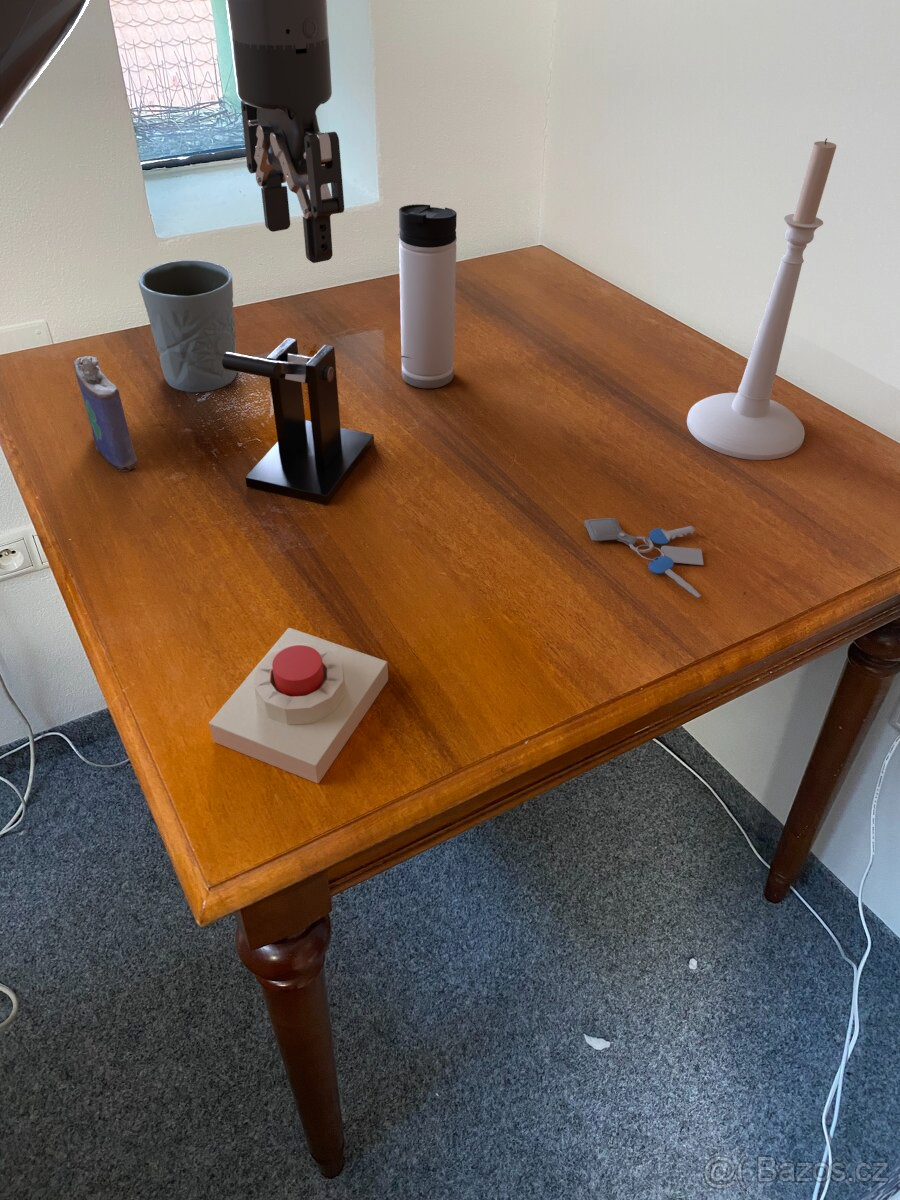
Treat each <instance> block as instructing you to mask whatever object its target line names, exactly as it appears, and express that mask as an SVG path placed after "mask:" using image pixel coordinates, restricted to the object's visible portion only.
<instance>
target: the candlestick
mask: <svg viewBox="0 0 900 1200" xmlns="http://www.w3.org/2000/svg"><path fill="white" fill-rule="evenodd" d="M836 150H837V144H836V143H834V142H830V141H828V138H825V139H824V141H823V140H821V141H820V140H819V141H818V140H817V141H814V142H813V144H812V148H811V152H810V156H809V159H808V162H807V167H806V169H805V174H804V177H803V181H802V183H801V187H800V191H799V195H798V199H797V202H796V206H795V210H794V213H791V214H790V213H789V214H787V215H785V216H784V217H783V220H784V222H785V223H786V225H787V229H786V231H785V233H784V238H785V240H786V241H787V242H786V251H785V253H784V254H783V255H782V256H781V258H780V260H781V261H780V264H779V267H778V268H777V269H778V270H777V273H776V276H775V278H774V281H773V285H772V288H771V291H770V294H769V297H768V300H767V303H766V306H765V310H764V313H763V315H762V318H761V322H760V324H759V327H758V330H757V333H756V337H755V339H754V342H753V345H752V348H751V351H750V353H749V354H750V355H749V358H748V360H747V363H746V366H745V369H744V373H743V375H742V379H741V381H740V384H739V386H738V389H737V392H724V393H718V394H714V395H710V396H707V397H705V398H703V399H701V400H699V401H697V402H695V404H693V405H692V406H691V407H690V409H689V410H688V414H687V417H686V425H687V429H688V430H689V432H690V434H691V435H692V436H693V438H695V440H697V441H698V442H699V443H701V444H702V445H704V446H705V447H707V448H709V449H711V450H713V451H715V452H717V453H720V454H723V455H724V456H725V455H726V456H729V457H733V458H737V459H743V460H750V461H770V460H777V459H782V458H785V457H788V456H790V455H792V454H794V453H796V452H797V451H798V450H799V449H800V448H801V447H802V445H803V443H804V440H805V428H804V425H803V424H802V422H801V420H800V419H799V418H798V416H796V414H795V413H794V412H792V410H790V409H789V408H788V407H786V406H785V405H783V404H781V403H780V402H777V401H776V400H773V399H771V397H772V395H773V388H774V384H775V378H776V374H777V370H778V367H779V363H780V358H781V354H782V350H783V345H784V342H785V338H786V333H787V328H788V325H789V320H790V316H791V312H792V308H793V305H794V300H795V295H796V290H797V286H798V283H799V278H800V276H801V275H800V273H801V271H802V266H803V263H804V262H805V260H804V257H803V255H804V251H805V250H806V249H807V247H808V244H810V243H811V242H813V240H814V239H815V238H814V237H815V231H816V230H817V229H818V228H820V227H822V226H823V225H824V221H823V220H822V219H821V218H819V217H817V215H818V212H819V208H820V204H821V201H822V198H823V194H824V191H825V188H826V184H827V181H828V177H829V174H830V170H831V167H832V163H833V160H834V157H835V153H836Z"/></svg>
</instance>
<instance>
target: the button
mask: <svg viewBox="0 0 900 1200" xmlns="http://www.w3.org/2000/svg"><path fill="white" fill-rule="evenodd" d="M272 668H273V674H274V680H275V685H276V687H277V688H278V690H279V691H281V692H282V693H283V694H286V695H288V696H293V697H295V696H306V695H309V694H311V693H313V692H314V691H316V690H317V689H318V688H319V687H320V686H321V684H322V682H323V679H324V673H323V665H322V658H321V655H320V654H319V653H318V652H317V651H316V650H315V649H313V648H311V647H309V646H304V645H295V646H290V647H287V648H285V649H283V650H282V651H280V652H279V653H278V654H277V655H276V656H275V658H274V660H273V663H272Z"/></svg>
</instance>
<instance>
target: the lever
mask: <svg viewBox="0 0 900 1200" xmlns="http://www.w3.org/2000/svg"><path fill="white" fill-rule="evenodd" d="M313 357H314V356H308V355H303V354H298V355H295V354H288V355H287V362H282V361H271V360H267V358H260V357H256V356H249V355H245V354H240V353H236V354H235V353H229V352H226V353H225V354H224V355H223V358H222V365H223V367H224V368H225V369H228V370H233V371H237V373H238V372H239V373H243V374H248V375H254V376H258V377H259V376H260V377H264V378H274V379H278V378H279V377H280V375H281V374H285V379H286V380H290V381H296V382H301V384H307V376H306V366H305V365H306V364H307V363H308V362H309V361H310V360H311V359H312V358H313Z"/></svg>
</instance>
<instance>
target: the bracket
mask: <svg viewBox="0 0 900 1200" xmlns="http://www.w3.org/2000/svg"><path fill="white" fill-rule="evenodd" d="M288 354H295V355H299V348H298V339H297V338H291V337H286V339H284V340H283V341H282V343H280V344H279V345H278V346H277V347H276V348H275V349H274V350H273V351H272V352H271V353H270V354H268V356H266V360H271V361H282V362H287V355H288ZM312 357H313V358H312V359H311V360H310V361H309V362H308V363H307V364H306V365H305V366H306V376H307V383H306V385H307V394H308V395H307V396H308V403H309V414H310V420H306V413H305V403H304V394H303V385H302V384H303V383H301V382H296V381H290V380H286V379H285V374H281V375H280V377H279V378H278V379H274V378H269V385H270V393H271V400H272V401H271V402H272V408H273V415H274V425H275V432H276V439H277V442H275V444H274V445H273V446H272V447H271V448H270V449H269V450H268V451H267V453H266V454H265V455H264V456H262V458H261V459H260V460H259V461H258V463H256V465H254V467H253V468H252V469H251V470H250V471H249V472H248V473H247V475H246V476H245V477H244V479H245V485H246V488H250V489H253V490H258V491H263V492H266V493H271V494H276V495H280V496H284V497H289V498H293V499H297V500H302V501H306V502H311V503H315V504H319V505H324V506H329V504H330V503H331V502H332V500H333V499H334V498H335V496H336V495H337V494H338V493H339V491H340V490H341V488H342V487H343V486H344V485H345V483H346V482H347V481H348V479H349V478H350V477H351V475H352V474H353V472H354V471H355V470H356V469H357V467H358V466H359V465H360V463H361V462H362V461H363V459H364V458H365V456H366V455H367V454H368V453H369V451H370V450H371V449H372V448H373V446H374V445H375V434H374V433H369V432H364V431H359V430H354V429H350V428H345V427H341V417H340V404H339V403H340V402H339V391H338V376H337V365H336V363H337V362H336V350H335V346H333V345H329V344H324V345H323V346H322V347H321V348H320V349H319V350H318V351H317V353H315V354H314V356H312Z"/></svg>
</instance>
